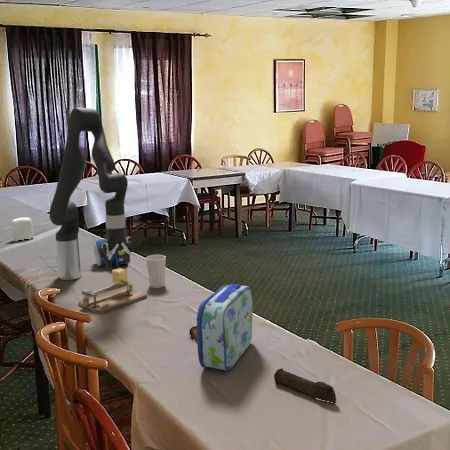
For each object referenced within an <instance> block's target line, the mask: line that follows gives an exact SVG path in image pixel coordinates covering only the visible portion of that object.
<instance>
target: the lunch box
mask: <svg viewBox="0 0 450 450" xmlns="http://www.w3.org/2000/svg"><path fill="white" fill-rule="evenodd" d="M253 305H254V304H253V295H252V289H251V287H249V286H247V285H240V284H239V283H237V284H236V283H235V284H234V283H232V284H228V283H226V284H224V285H222V286H221V287H219V288H218V289H217V290H216V291H215V292H213V293H212V294H211V295H209V296H208V297H206V298H205V299H204V300H203V301H202V302H200V303H199V306H198V309H197V313H196V314H197V316H196V326H197V355H198V356H197V357H198V363H199V364H200V367H202V368H213V369H217V370H222V371H230V370H231V369H233V367H235V365H236V363H237V362H238V360H239V359H240V358H241V357H242V356H243V354H244V353H245V352H246V350H247V349H248V348H249V346H250V345H251V342H252V337H253V312H254V311H253Z"/></svg>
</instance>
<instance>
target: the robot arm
mask: <svg viewBox="0 0 450 450" xmlns="http://www.w3.org/2000/svg"><path fill="white" fill-rule="evenodd" d="M81 132H87V133H89V132H90V133H91V134H92V136H93V137H94V138H93V139H94V142H93V145H92V149H91V156H92V160H93V163H94V165H95V167H96V170H97V174H98V175H97V176H98V186H99V189H100V190H101V192H102V193H104V194H112V193H113V194H114V193H115V194H114V196H112V197H110V198H107V200H105V202H104V204H105V233H106V238H107V243H101V244H100V258H103V259H105V263H106V265H105V268H107V269H108V270H111V269H112V263H111V257H112V255H113V254H114V253H115V252H118V251H122V250H123V252H124V253H125V254H124V261H125V265H126V264H128V265H129V264H130V262H131V256H130V255H131V253H133V252H135V247H134V239H133V238H134V237H131V236H127V226H126V225H127V222H126V215H125V200H126V194H127V190H128V183H129V182H128V178H127V176H126V175H125V174H124V173H123V172H122V173H121V172H117V173H112V172H114V171H115V169H116V163H115V161H114V158H113V156H112V153H111V151H110V150H109V146H108V143H107V138H106V134H105V129H104V126H103V122H102V119H101V115H100V113H99V111H97V109H95V108H90V107H89V108H88V107H78V106H77V107H73V109H72V110H71V111H70V115H69V120H68V124H67V132H66V142H65V147H64V153H63V156H62V160H61V165H60V170H59V175H58V180H57V184H56V189H55V192H54V196H53V199H52V201H51V205H50V208H49V214H48V215H49V219H50V221H51V223H52V224H53V225H54V226H60V228H59V230H57V232H55V242H56V243H55V245H56V253H57V255H56V261H57V272H58V277H59V279H60V280H63V281H72V280H73V281H74V280H77V279H79V278H81V277H82V269H81V267H82V266H81V257H80V255H81V254H80V244H79V232H80V216H79V209H78V206H77V204H76V203H75V202H74V201H72V200H70V199H71V197H72V194H74V191H75V190H76V189H77V187H78V186H79V185H80V183H81V181H82V180H83V179H82V178H83V177H84V171H85V168H86V159H85V156H84V153H83V152H82V151H83V150H82V149H81V146H80V134H81ZM126 244H127V245H126ZM107 246H108V249H107ZM110 250H111V251H110Z"/></svg>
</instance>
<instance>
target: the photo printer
mask: <svg viewBox="0 0 450 450" xmlns="http://www.w3.org/2000/svg"><path fill="white" fill-rule="evenodd" d="M32 222H33V221H32V219H31V217H23V216H22V217H18V218H15V219H12V221H11V226H12V228H11V229H12V234H13V235H12V236H13V241H14V240H15V241H14V242H19V241H18V240H22V241H25V240H24V239H29V238H33V239H34V232H33V231H34V230H33V223H32ZM29 240H30V239H29Z"/></svg>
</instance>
